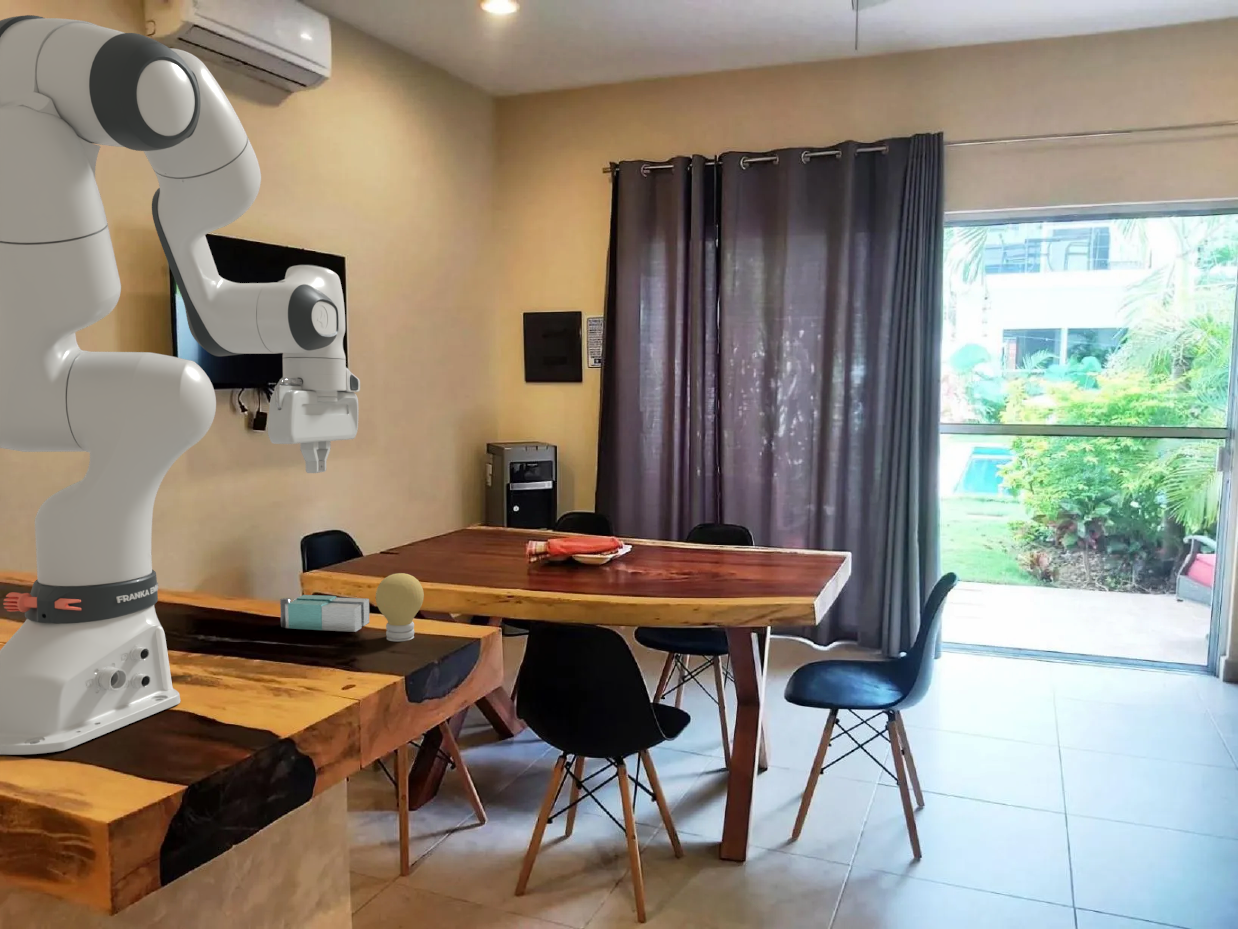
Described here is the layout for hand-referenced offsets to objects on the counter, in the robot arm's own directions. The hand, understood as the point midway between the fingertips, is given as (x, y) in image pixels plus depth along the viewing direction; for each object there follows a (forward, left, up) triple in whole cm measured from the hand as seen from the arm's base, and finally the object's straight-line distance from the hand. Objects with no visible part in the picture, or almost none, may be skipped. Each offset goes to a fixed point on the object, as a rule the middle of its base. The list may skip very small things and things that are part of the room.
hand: (316, 472), depth 133 cm
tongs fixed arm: (-7, -4, -22) cm, 23 cm away
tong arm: (-4, -4, -21) cm, 22 cm away
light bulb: (-10, -17, -23) cm, 30 cm away
